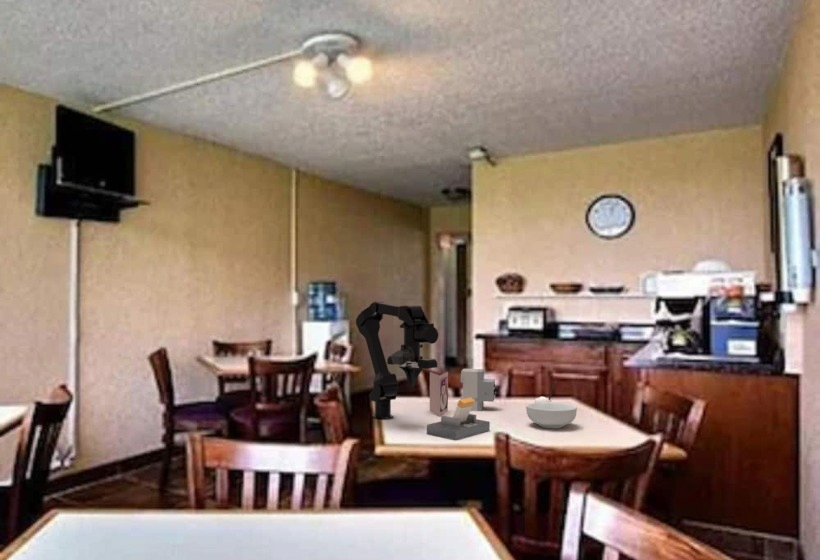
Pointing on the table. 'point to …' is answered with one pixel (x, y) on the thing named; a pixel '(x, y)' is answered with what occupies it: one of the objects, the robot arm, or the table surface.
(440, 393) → the pink box
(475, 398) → the circuit breaker
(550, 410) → the cereal bowl
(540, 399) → the white mound with stick
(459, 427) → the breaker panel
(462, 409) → the lever
